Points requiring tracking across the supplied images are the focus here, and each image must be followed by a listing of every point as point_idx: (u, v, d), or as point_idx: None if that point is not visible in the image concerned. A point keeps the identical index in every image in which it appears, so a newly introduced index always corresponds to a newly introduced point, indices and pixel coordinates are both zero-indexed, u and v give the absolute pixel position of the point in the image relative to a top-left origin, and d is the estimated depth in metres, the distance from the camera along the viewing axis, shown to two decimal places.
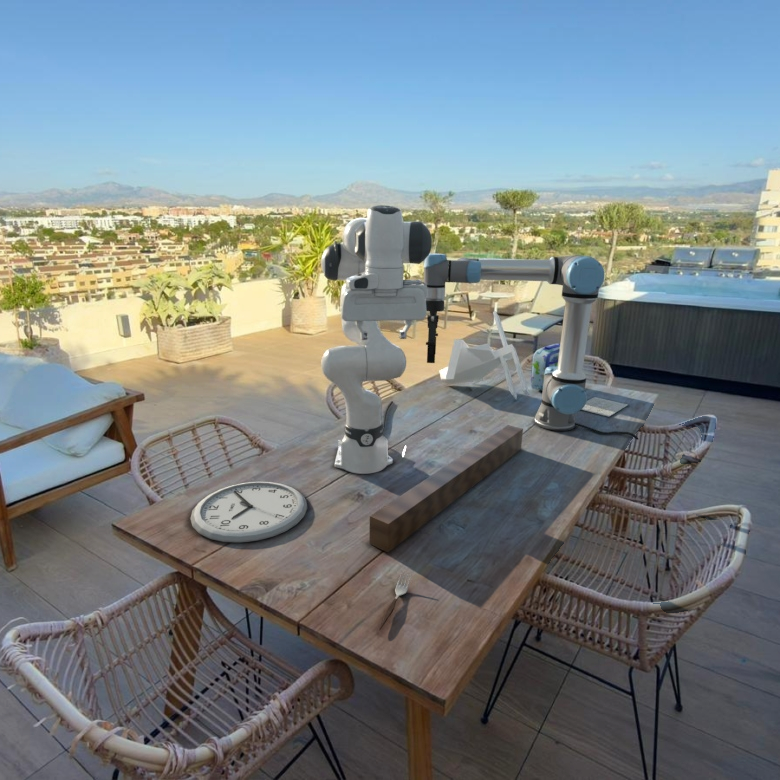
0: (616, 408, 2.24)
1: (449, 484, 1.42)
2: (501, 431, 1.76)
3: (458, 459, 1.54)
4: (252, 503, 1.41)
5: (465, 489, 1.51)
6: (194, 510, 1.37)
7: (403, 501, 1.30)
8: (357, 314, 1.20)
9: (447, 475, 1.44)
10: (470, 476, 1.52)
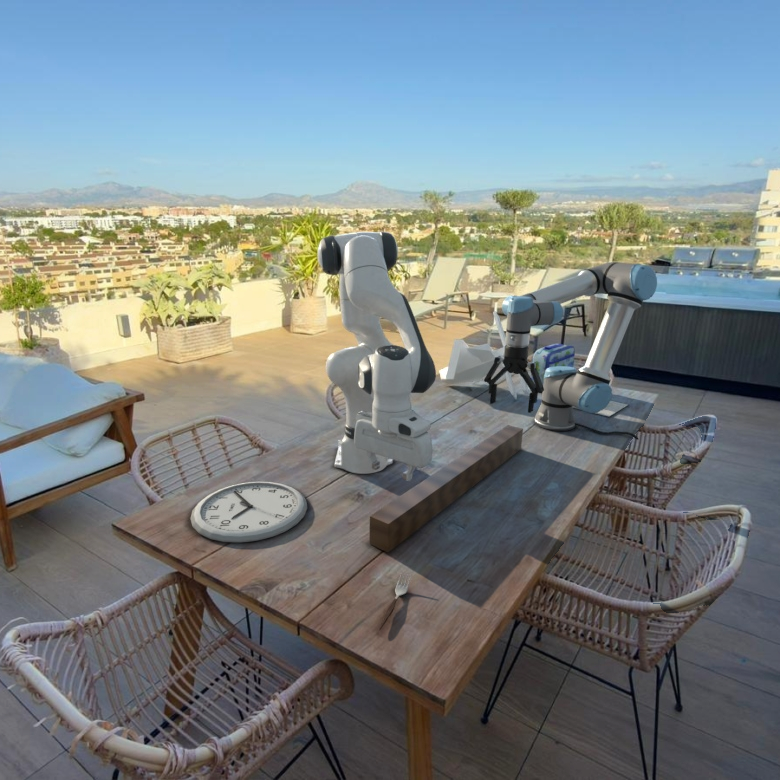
0: (616, 408, 2.24)
1: (449, 484, 1.42)
2: (501, 431, 1.76)
3: (458, 459, 1.54)
4: (252, 503, 1.41)
5: (465, 489, 1.51)
6: (194, 510, 1.37)
7: (403, 501, 1.30)
8: None
9: (447, 475, 1.44)
10: (470, 476, 1.52)
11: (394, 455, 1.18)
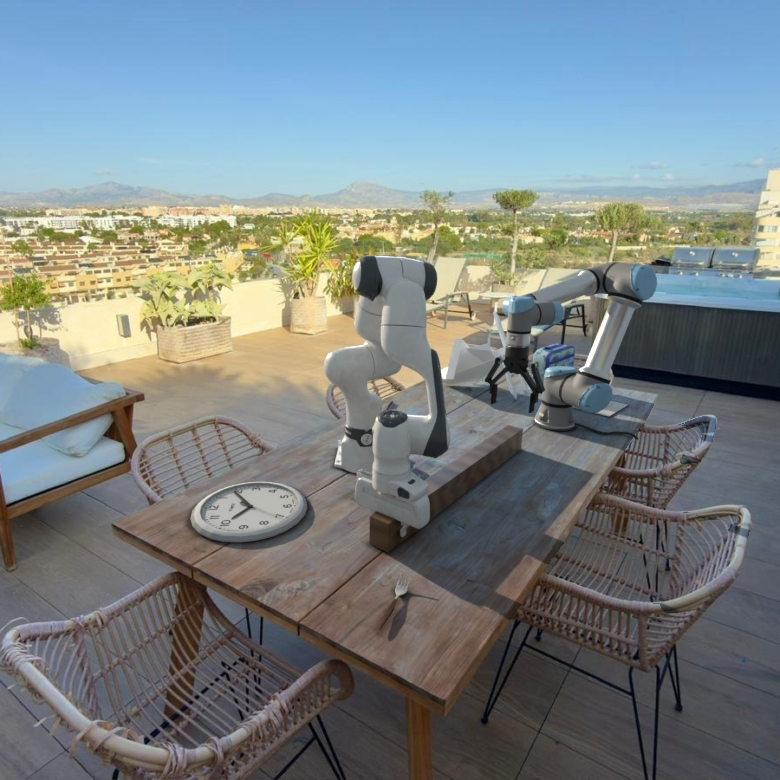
0: (616, 408, 2.24)
1: (449, 484, 1.42)
2: (501, 431, 1.76)
3: (458, 459, 1.54)
4: (252, 503, 1.41)
5: (465, 489, 1.51)
6: (194, 510, 1.37)
7: None
8: None
9: (446, 475, 1.44)
10: (470, 476, 1.52)
11: (393, 514, 1.22)
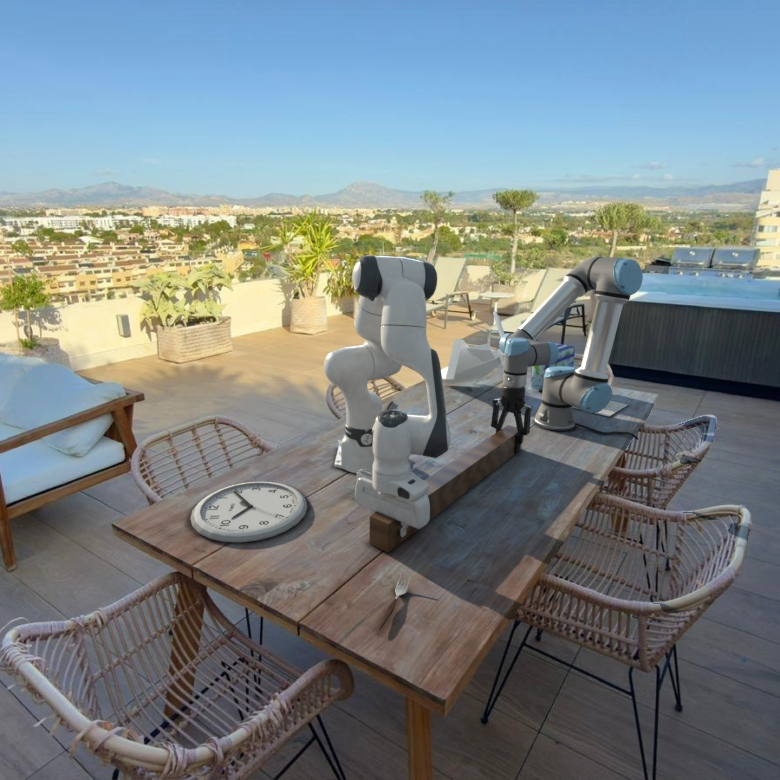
0: (616, 408, 2.24)
1: (449, 484, 1.42)
2: (501, 431, 1.76)
3: (458, 459, 1.54)
4: (252, 503, 1.41)
5: (465, 489, 1.51)
6: (194, 510, 1.37)
7: None
8: None
9: (447, 475, 1.44)
10: (470, 476, 1.52)
11: (393, 514, 1.22)
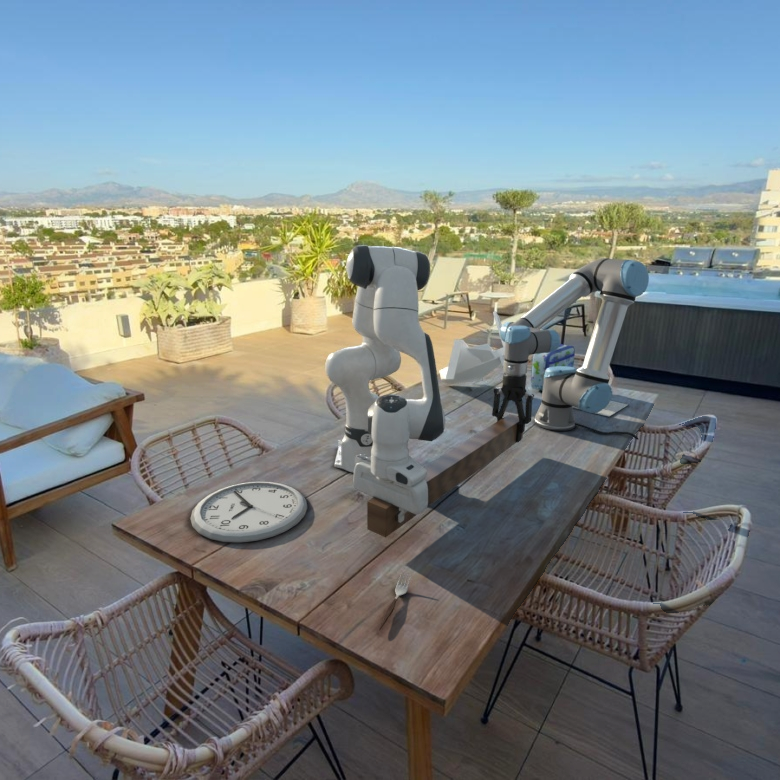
0: (616, 408, 2.24)
1: (448, 470, 1.41)
2: (502, 420, 1.75)
3: (458, 447, 1.54)
4: (252, 503, 1.41)
5: (465, 476, 1.50)
6: (194, 510, 1.37)
7: None
8: None
9: (446, 462, 1.44)
10: (470, 464, 1.51)
11: (391, 500, 1.22)
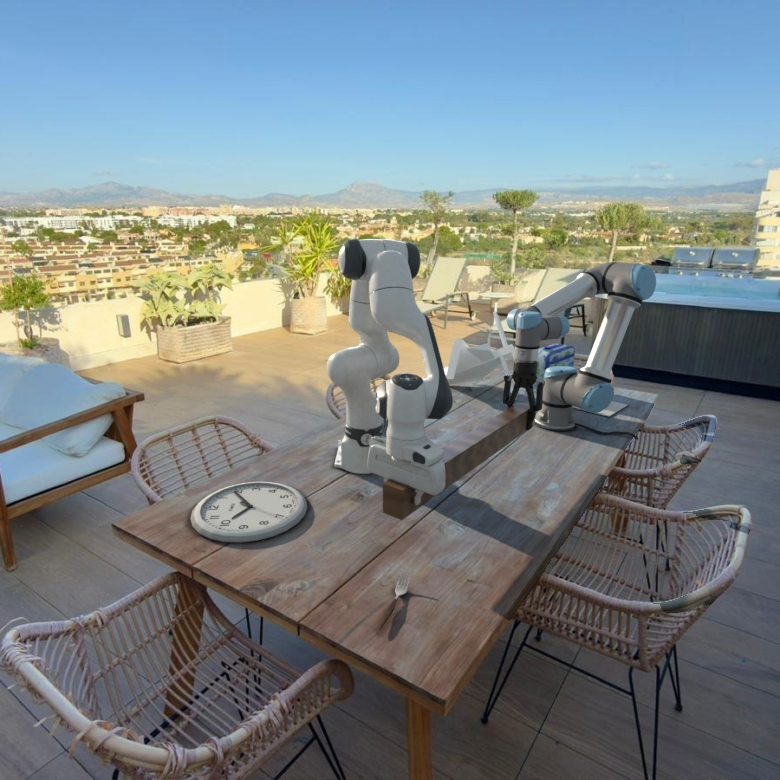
0: (616, 408, 2.24)
1: (462, 455, 1.38)
2: (513, 407, 1.73)
3: (470, 432, 1.51)
4: (252, 503, 1.41)
5: (478, 462, 1.48)
6: (194, 510, 1.37)
7: None
8: None
9: (460, 447, 1.41)
10: (483, 449, 1.48)
11: (408, 481, 1.19)
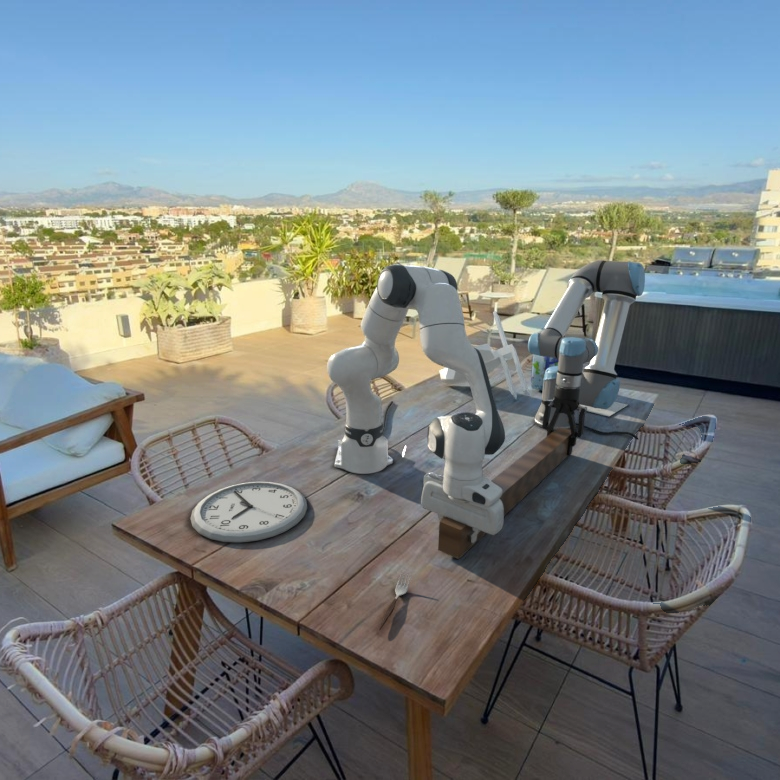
0: (616, 408, 2.24)
1: (512, 488, 1.38)
2: (553, 433, 1.73)
3: (516, 462, 1.51)
4: (252, 503, 1.41)
5: (525, 493, 1.47)
6: (194, 510, 1.37)
7: None
8: None
9: (509, 479, 1.41)
10: (529, 480, 1.48)
11: (465, 520, 1.19)
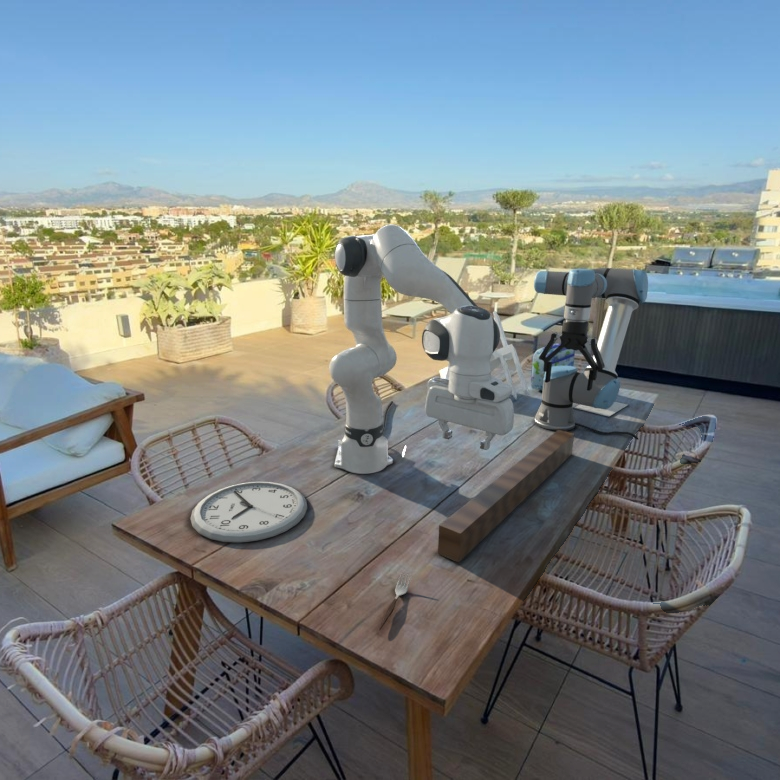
0: (616, 408, 2.24)
1: (511, 491, 1.38)
2: (553, 436, 1.73)
3: (516, 465, 1.51)
4: (252, 503, 1.41)
5: (524, 496, 1.47)
6: (194, 510, 1.37)
7: (470, 510, 1.27)
8: None
9: (508, 482, 1.41)
10: (529, 483, 1.48)
11: (472, 422, 1.11)
